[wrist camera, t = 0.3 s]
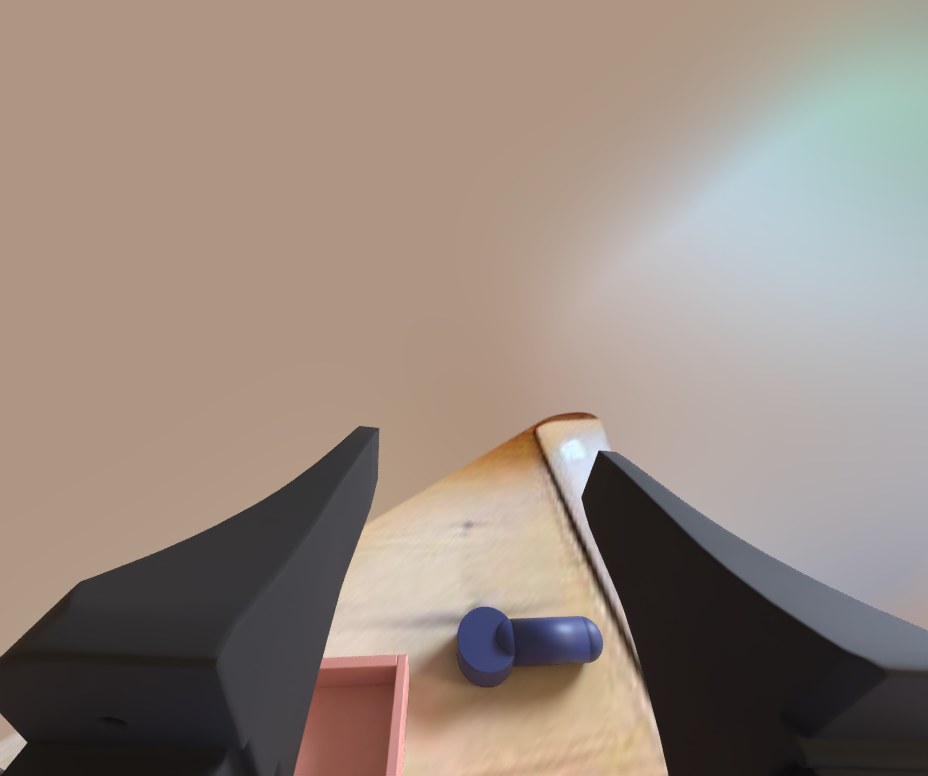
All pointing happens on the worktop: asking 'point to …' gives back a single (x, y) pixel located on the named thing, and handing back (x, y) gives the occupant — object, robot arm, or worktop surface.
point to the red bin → (357, 718)
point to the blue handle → (521, 643)
